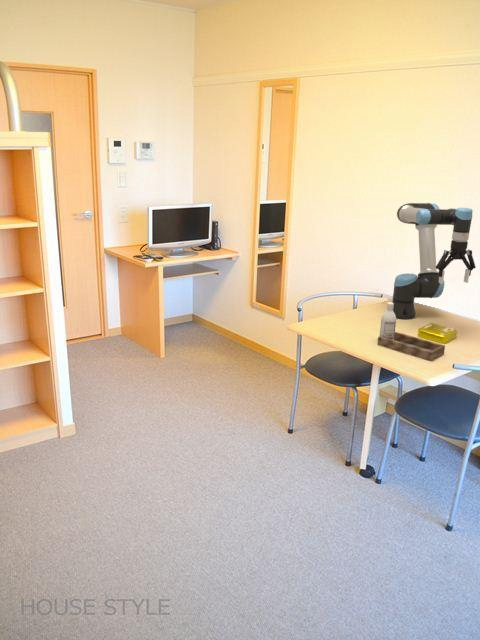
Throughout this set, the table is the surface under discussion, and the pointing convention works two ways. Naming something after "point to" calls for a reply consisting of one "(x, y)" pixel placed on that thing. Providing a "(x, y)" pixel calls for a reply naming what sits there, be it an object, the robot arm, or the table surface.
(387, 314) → the bath foam
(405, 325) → the table surface
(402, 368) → the table surface
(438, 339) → the element tile
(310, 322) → the table surface
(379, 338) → the brown wooden tray
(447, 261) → the robot arm
